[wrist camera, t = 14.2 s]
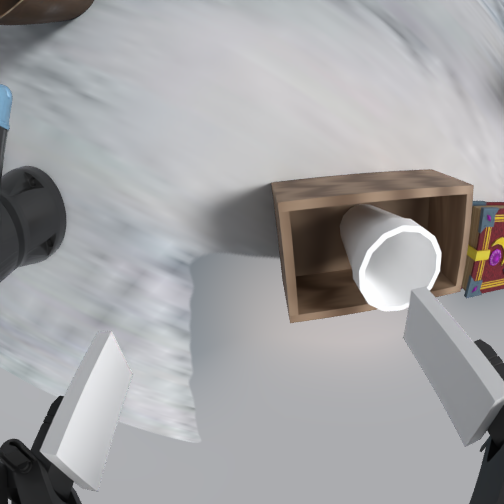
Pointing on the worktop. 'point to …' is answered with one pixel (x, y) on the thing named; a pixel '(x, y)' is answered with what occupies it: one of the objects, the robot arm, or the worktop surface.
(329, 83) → the worktop surface
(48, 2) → the plant pot
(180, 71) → the worktop surface
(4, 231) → the robot arm
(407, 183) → the open wooden box
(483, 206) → the decorative book
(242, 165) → the worktop surface
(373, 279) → the foam cup
